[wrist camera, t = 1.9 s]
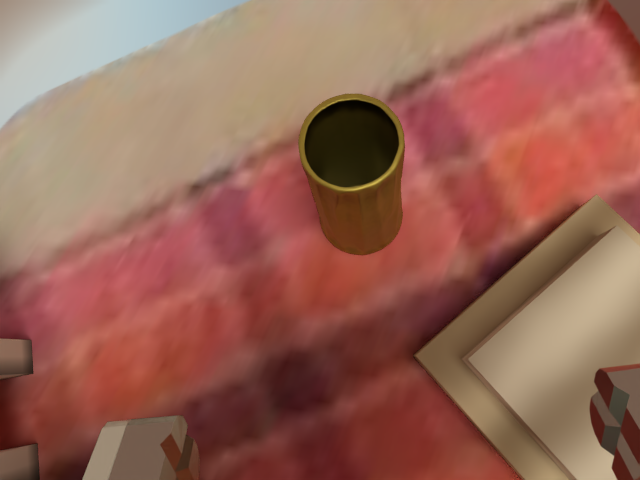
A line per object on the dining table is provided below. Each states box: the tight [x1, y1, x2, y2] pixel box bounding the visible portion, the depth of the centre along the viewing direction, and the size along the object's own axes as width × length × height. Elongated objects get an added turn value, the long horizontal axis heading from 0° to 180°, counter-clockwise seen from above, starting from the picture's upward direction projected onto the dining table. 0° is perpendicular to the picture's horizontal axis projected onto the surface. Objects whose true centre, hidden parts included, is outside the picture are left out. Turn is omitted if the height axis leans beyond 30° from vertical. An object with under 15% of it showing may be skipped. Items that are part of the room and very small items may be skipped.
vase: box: [298, 94, 405, 255], centre depth 34 cm, size 6×6×14 cm
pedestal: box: [413, 194, 640, 480], centre depth 34 cm, size 16×16×6 cm
